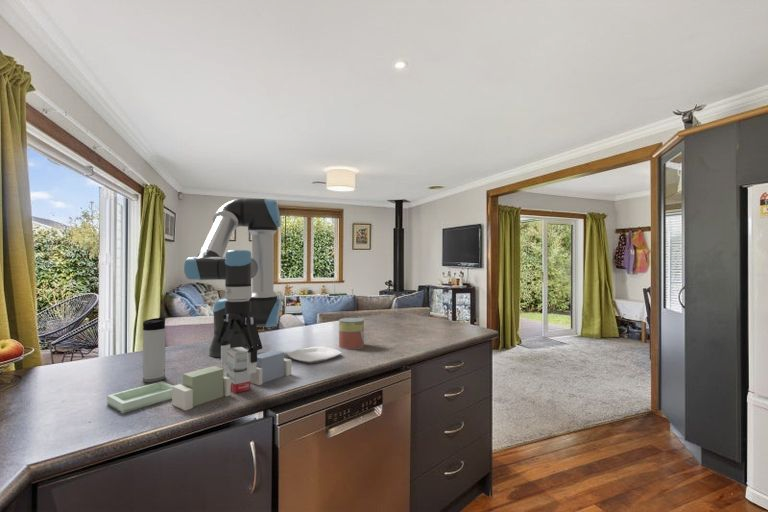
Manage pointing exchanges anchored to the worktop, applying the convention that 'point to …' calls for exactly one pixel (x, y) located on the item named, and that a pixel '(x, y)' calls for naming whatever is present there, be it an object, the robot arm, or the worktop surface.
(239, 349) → the ink box
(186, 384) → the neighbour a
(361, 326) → the canned food
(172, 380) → the worktop surface
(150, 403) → the tray
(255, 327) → the robot arm
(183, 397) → the holder
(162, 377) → the travel mug
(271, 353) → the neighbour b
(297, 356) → the plate
